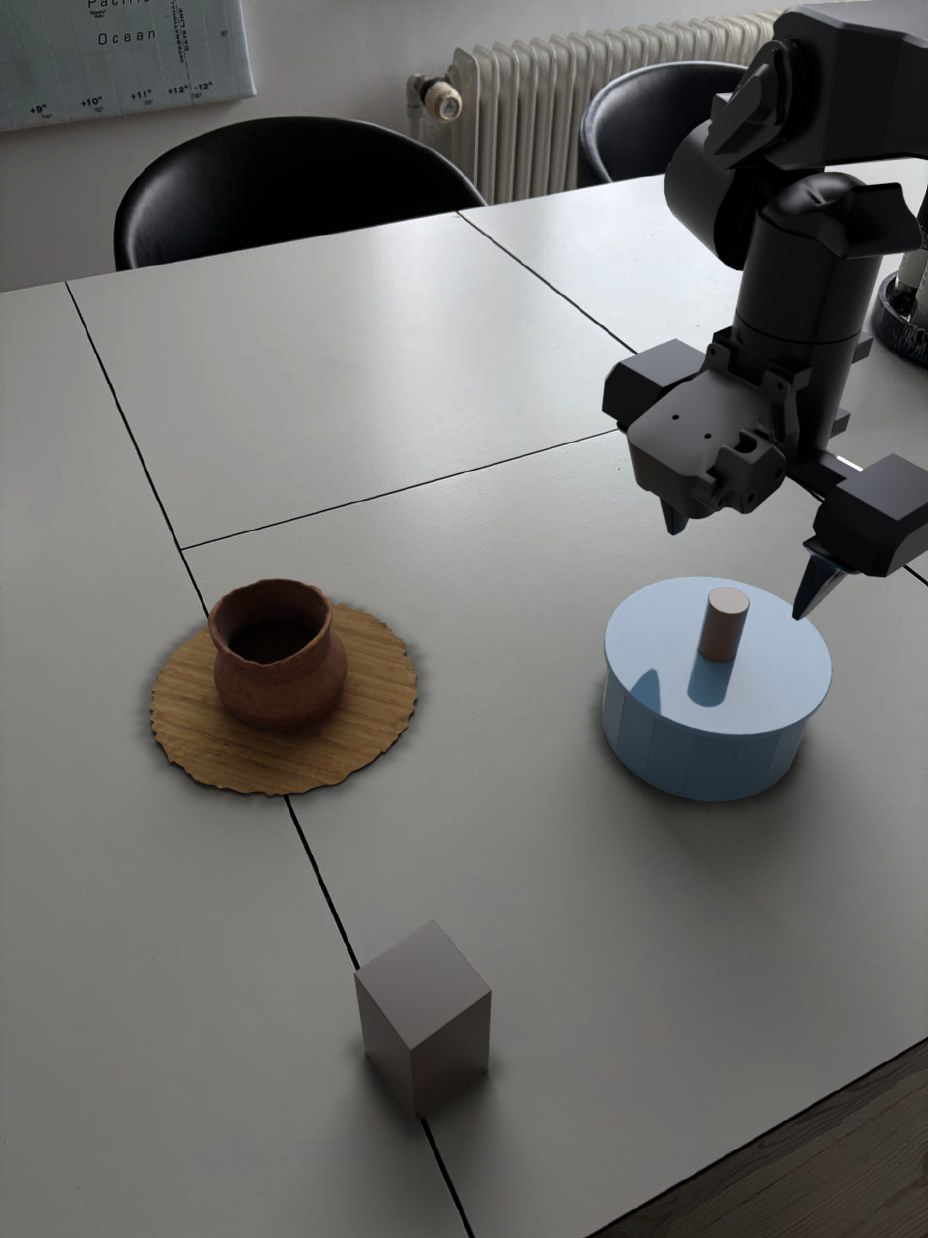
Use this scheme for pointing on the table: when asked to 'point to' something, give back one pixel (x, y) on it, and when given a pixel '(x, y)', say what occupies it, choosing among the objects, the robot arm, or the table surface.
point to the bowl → (693, 753)
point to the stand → (424, 1019)
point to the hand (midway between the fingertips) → (735, 572)
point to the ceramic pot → (282, 691)
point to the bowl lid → (717, 658)
